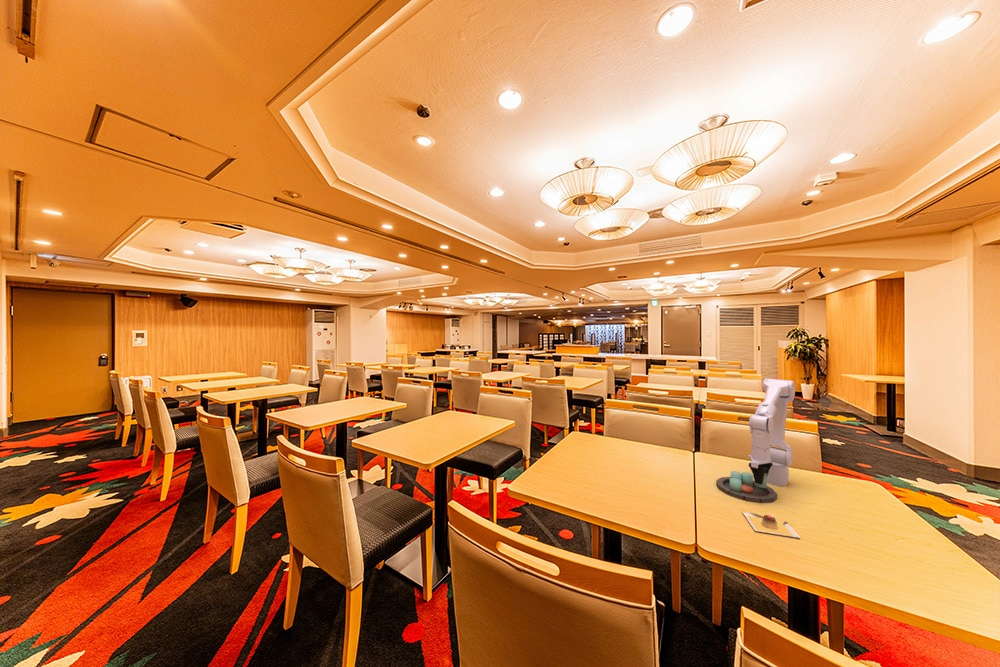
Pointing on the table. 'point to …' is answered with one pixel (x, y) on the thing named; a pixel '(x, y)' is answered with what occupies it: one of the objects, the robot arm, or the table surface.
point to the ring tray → (748, 497)
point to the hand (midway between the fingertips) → (760, 482)
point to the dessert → (770, 524)
